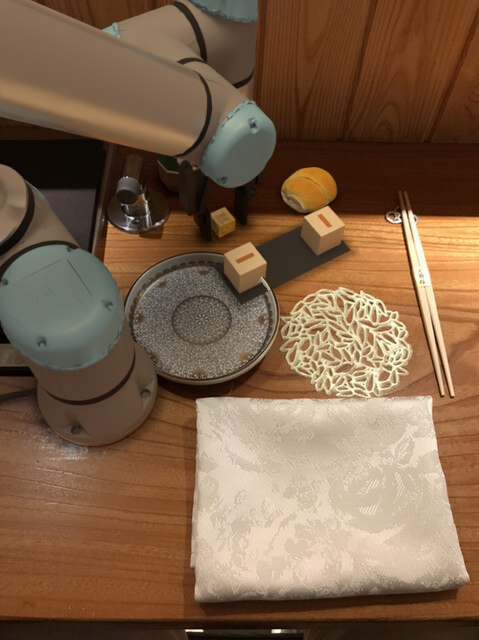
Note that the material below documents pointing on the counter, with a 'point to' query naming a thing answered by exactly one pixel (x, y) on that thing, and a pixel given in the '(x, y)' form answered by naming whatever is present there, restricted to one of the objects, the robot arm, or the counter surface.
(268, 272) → the word mat
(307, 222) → the beige wooden block
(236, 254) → the small cardboard box
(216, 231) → the alphabet block
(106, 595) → the counter surface
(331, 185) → the bread roll
